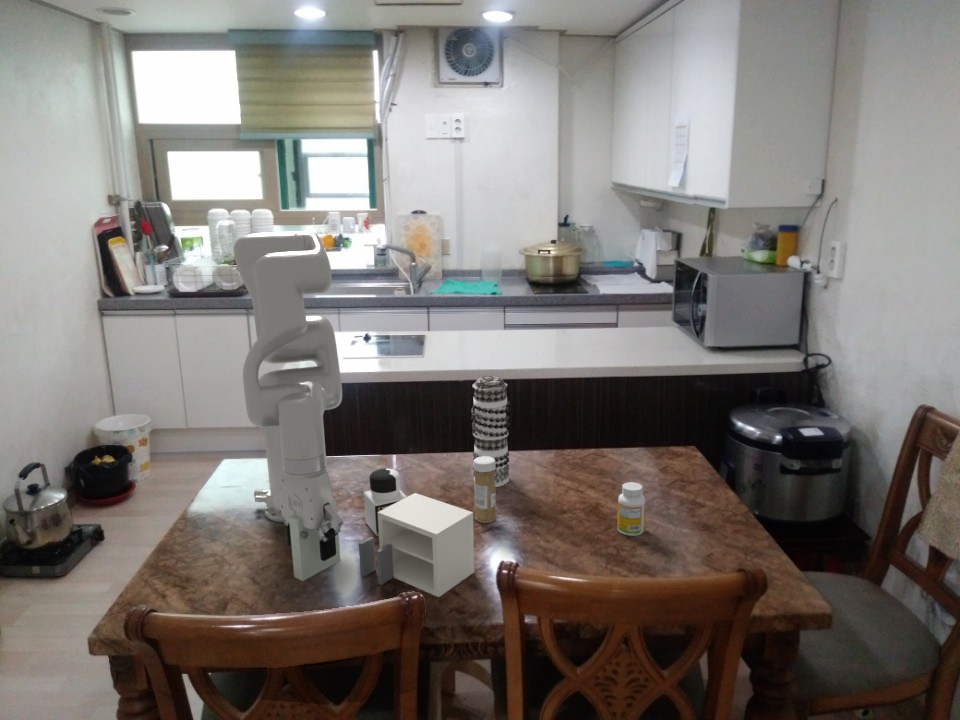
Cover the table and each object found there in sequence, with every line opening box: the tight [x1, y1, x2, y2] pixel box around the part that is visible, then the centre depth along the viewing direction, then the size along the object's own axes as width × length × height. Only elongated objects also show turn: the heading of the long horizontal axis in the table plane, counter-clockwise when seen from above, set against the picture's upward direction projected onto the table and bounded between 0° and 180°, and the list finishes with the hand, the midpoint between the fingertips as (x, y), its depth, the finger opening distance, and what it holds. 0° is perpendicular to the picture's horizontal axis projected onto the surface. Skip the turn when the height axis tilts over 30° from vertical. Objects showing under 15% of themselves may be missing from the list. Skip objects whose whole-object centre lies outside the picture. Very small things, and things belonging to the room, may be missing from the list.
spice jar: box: [473, 456, 497, 524], centre depth 152 cm, size 5×5×13 cm
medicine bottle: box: [363, 468, 408, 537], centre depth 150 cm, size 7×7×12 cm
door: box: [289, 501, 341, 582], centre depth 134 cm, size 3×9×12 cm, turn 143°
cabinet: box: [358, 492, 475, 598], centre depth 132 cm, size 16×13×12 cm
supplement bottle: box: [616, 481, 646, 537], centre depth 147 cm, size 5×5×10 cm
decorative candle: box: [470, 375, 511, 488], centre depth 170 cm, size 9×9×25 cm
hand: (312, 550), depth 134 cm, fingers open, 8 cm apart
